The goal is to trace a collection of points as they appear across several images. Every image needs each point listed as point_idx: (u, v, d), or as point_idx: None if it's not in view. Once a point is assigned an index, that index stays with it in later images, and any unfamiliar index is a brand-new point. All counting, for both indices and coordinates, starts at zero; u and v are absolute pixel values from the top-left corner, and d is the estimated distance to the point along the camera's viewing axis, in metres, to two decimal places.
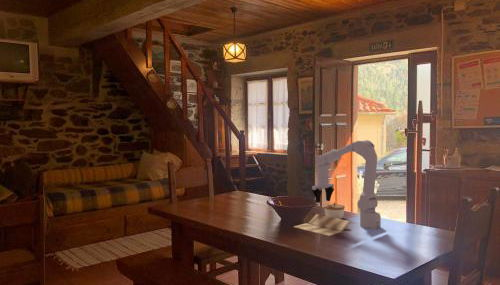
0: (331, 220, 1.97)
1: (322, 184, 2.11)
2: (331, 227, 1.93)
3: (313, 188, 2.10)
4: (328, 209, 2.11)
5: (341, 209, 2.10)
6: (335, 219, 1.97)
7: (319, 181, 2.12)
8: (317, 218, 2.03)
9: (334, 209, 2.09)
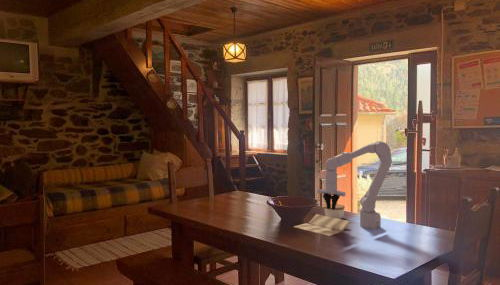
0: (331, 220, 1.97)
1: None
2: (331, 227, 1.93)
3: None
4: (328, 209, 2.11)
5: (341, 209, 2.10)
6: (335, 219, 1.97)
7: None
8: (317, 218, 2.03)
9: (334, 209, 2.09)
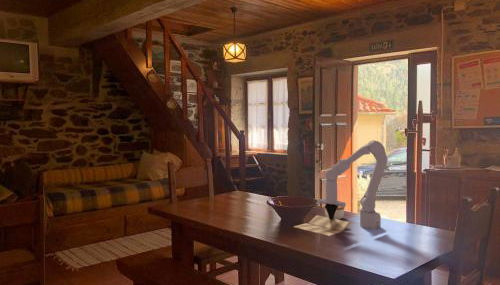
0: (331, 221, 1.98)
1: None
2: (331, 227, 1.93)
3: None
4: None
5: (341, 209, 2.10)
6: (335, 220, 1.97)
7: None
8: (317, 219, 2.03)
9: None
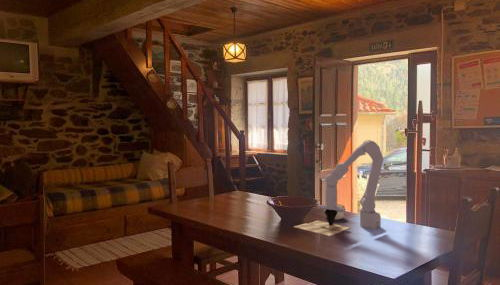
0: (331, 225, 1.98)
1: (325, 205, 1.99)
2: (331, 228, 1.93)
3: None
4: None
5: None
6: (336, 225, 1.98)
7: None
8: (318, 222, 2.04)
9: None
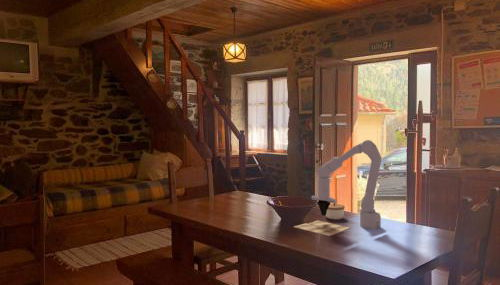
0: (331, 225, 1.98)
1: (318, 196, 2.03)
2: (331, 228, 1.93)
3: None
4: (328, 209, 2.11)
5: (341, 209, 2.10)
6: (336, 225, 1.98)
7: None
8: (318, 222, 2.04)
9: (334, 209, 2.09)
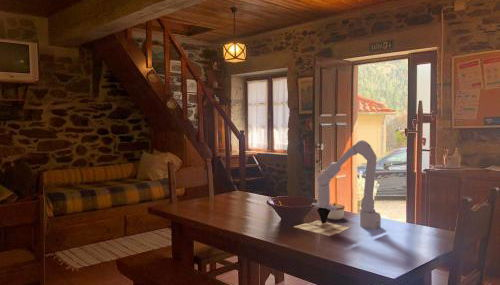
0: (331, 225, 1.98)
1: (318, 203, 2.03)
2: (331, 228, 1.93)
3: None
4: None
5: (341, 209, 2.10)
6: (336, 225, 1.98)
7: None
8: (318, 222, 2.04)
9: None
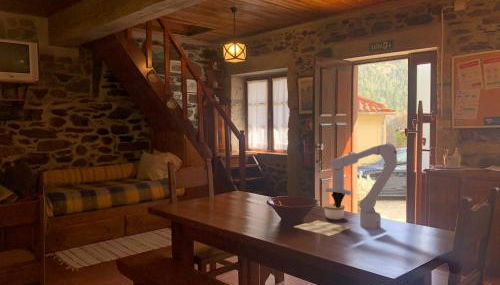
0: (331, 225, 1.98)
1: (332, 188, 2.03)
2: (331, 228, 1.93)
3: None
4: (328, 209, 2.11)
5: (341, 209, 2.10)
6: (336, 225, 1.98)
7: None
8: (318, 222, 2.04)
9: (334, 209, 2.09)
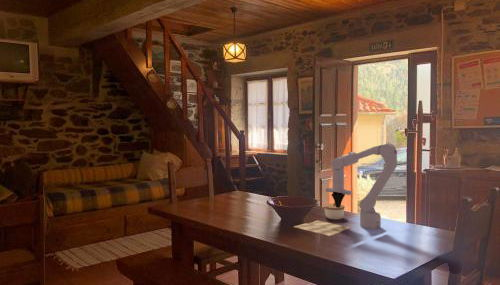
0: (331, 225, 1.98)
1: (332, 188, 2.03)
2: (331, 228, 1.93)
3: None
4: (328, 209, 2.11)
5: (341, 209, 2.10)
6: (336, 225, 1.98)
7: None
8: (318, 222, 2.04)
9: (334, 209, 2.09)
